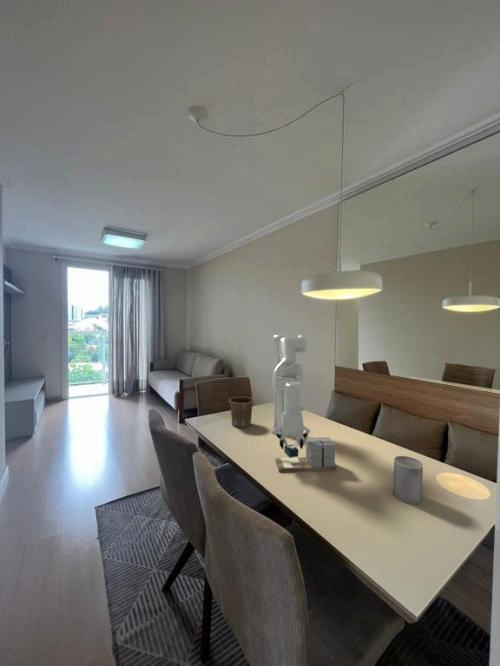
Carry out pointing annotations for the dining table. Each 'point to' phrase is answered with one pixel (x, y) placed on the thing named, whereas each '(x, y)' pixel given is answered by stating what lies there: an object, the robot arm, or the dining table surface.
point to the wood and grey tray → (311, 457)
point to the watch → (291, 447)
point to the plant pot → (241, 411)
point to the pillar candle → (408, 479)
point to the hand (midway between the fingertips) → (291, 447)
